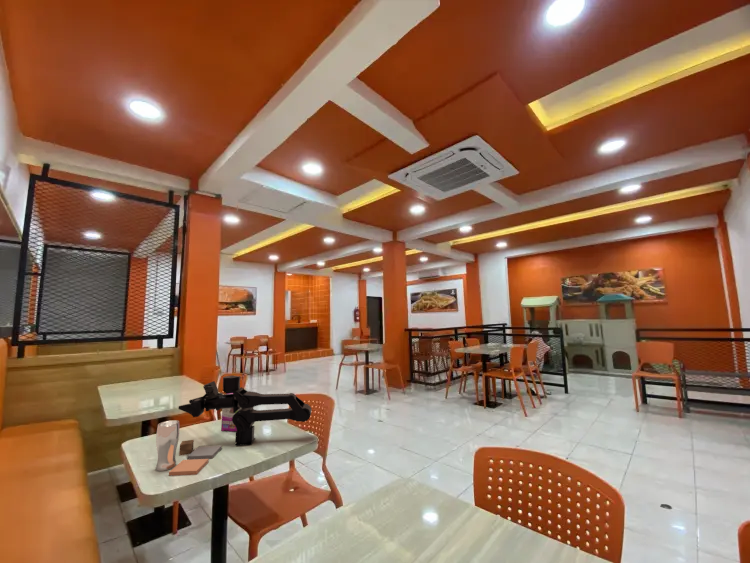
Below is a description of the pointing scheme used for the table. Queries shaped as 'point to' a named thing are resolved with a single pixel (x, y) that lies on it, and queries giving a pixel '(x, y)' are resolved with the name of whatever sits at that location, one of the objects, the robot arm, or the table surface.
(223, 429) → the candy bar box
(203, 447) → the slate tile
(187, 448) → the walnut block
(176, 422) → the beer glass
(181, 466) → the terracotta tile
